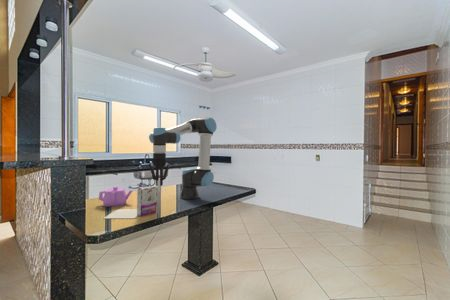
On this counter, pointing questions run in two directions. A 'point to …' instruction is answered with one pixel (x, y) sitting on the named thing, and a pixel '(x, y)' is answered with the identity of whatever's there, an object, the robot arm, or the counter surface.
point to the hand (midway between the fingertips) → (159, 190)
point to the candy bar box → (146, 200)
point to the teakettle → (114, 196)
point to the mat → (123, 214)
